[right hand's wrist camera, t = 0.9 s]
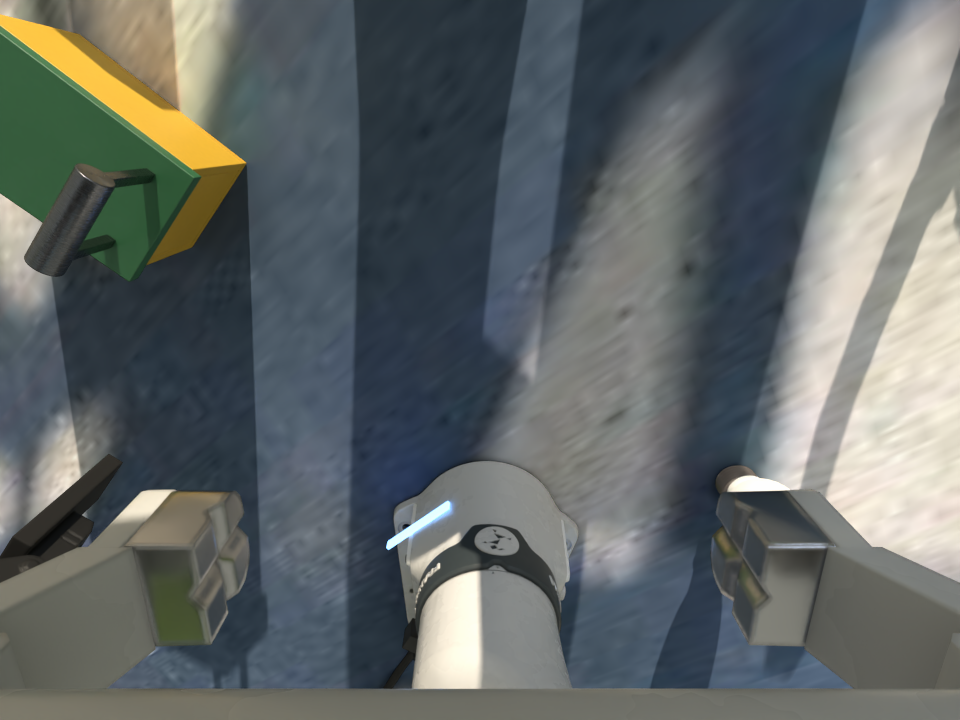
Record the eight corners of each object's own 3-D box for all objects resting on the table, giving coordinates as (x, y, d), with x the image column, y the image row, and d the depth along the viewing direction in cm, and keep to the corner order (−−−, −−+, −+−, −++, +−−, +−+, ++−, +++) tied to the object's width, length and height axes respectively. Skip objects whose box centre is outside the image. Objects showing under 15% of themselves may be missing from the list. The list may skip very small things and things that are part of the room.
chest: (246, 163, 51) (193, 169, 41) (192, 247, 53) (129, 272, 44) (79, 34, 47) (-22, 8, 38) (28, 130, 50) (-78, 129, 40)
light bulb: (693, 502, 62) (736, 576, 51) (716, 444, 59) (766, 509, 49) (756, 514, 62) (812, 590, 52) (782, 457, 60) (845, 524, 50)
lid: (202, 176, 41) (135, 186, 33) (138, 278, 44) (61, 311, 36) (-22, 8, 38) (-157, -26, 30) (-79, 129, 40) (-217, 127, 32)
